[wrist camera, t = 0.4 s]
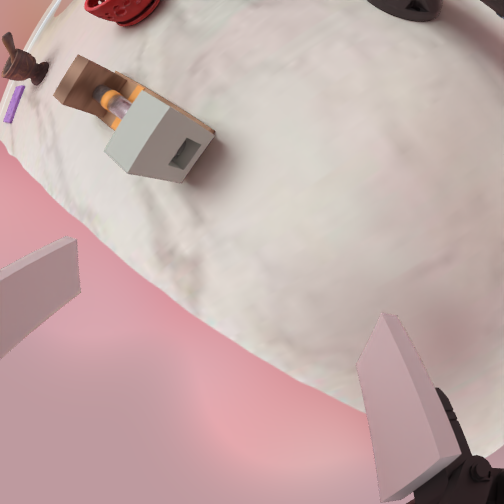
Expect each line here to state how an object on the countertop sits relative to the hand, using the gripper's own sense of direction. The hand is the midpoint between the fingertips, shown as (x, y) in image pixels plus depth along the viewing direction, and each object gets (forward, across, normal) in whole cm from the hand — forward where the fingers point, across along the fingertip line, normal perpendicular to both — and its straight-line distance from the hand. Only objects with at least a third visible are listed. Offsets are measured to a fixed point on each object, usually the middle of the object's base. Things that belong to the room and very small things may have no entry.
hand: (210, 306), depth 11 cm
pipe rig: (+33, -23, +9) cm, 41 cm away
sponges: (+46, -85, +16) cm, 98 cm away
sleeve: (+28, -12, +5) cm, 31 cm away
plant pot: (+40, -35, +35) cm, 64 cm away
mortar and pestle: (+44, -70, +26) cm, 87 cm away
